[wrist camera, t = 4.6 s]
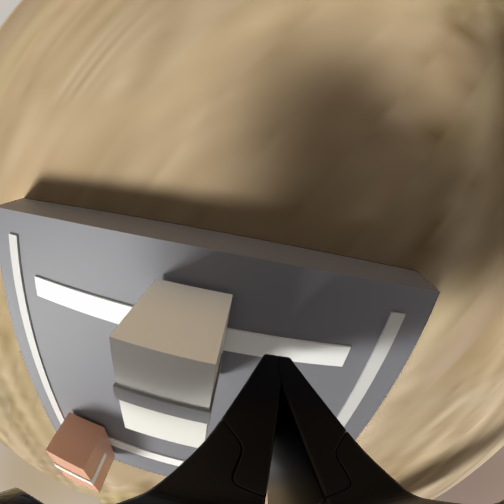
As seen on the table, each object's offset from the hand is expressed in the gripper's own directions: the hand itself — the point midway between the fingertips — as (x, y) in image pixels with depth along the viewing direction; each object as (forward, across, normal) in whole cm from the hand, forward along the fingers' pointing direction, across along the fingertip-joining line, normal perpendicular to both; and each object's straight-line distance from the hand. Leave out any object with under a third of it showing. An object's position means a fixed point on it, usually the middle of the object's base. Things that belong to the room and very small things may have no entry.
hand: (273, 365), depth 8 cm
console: (+3, +4, +5) cm, 7 cm away
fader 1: (+1, +8, +10) cm, 13 cm away
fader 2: (+1, +3, 0) cm, 3 cm away
